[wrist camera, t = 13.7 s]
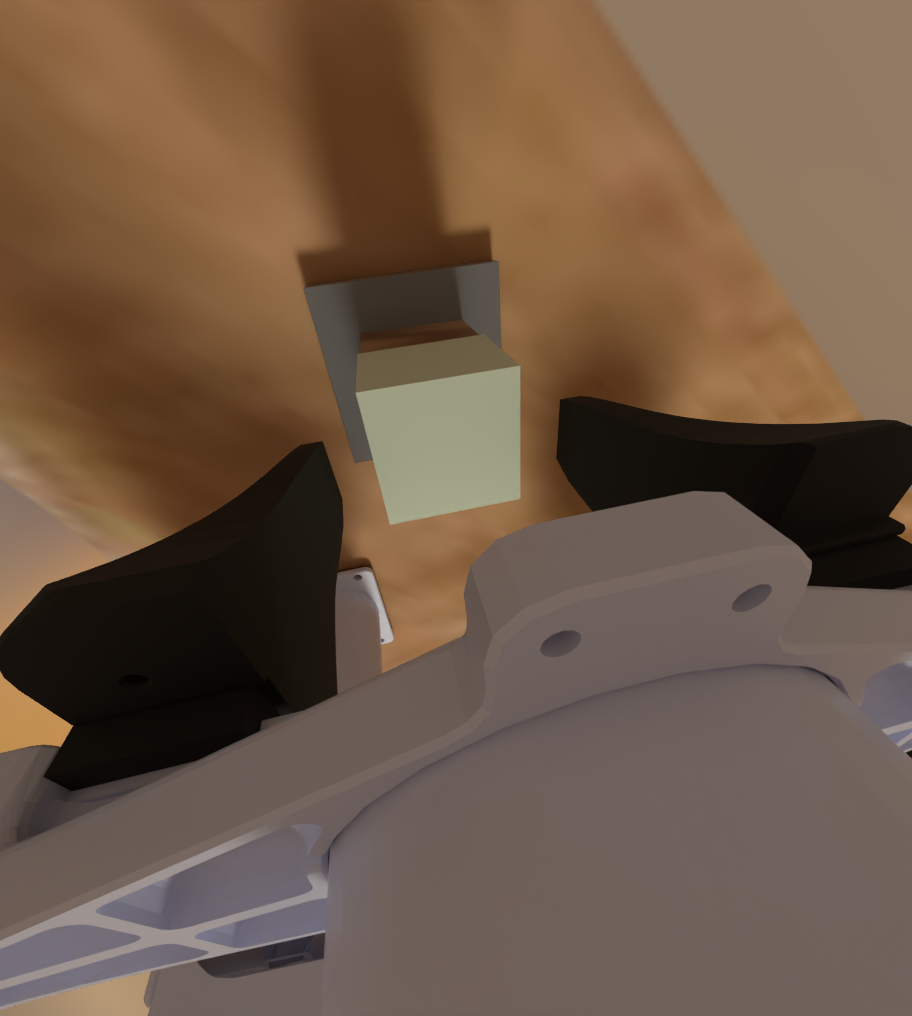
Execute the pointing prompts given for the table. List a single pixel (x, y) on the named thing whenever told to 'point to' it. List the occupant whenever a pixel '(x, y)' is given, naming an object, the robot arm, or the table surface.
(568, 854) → the robot arm
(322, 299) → the slate board
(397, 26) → the table surface
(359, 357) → the sage cube
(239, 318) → the table surface
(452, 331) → the walnut block
